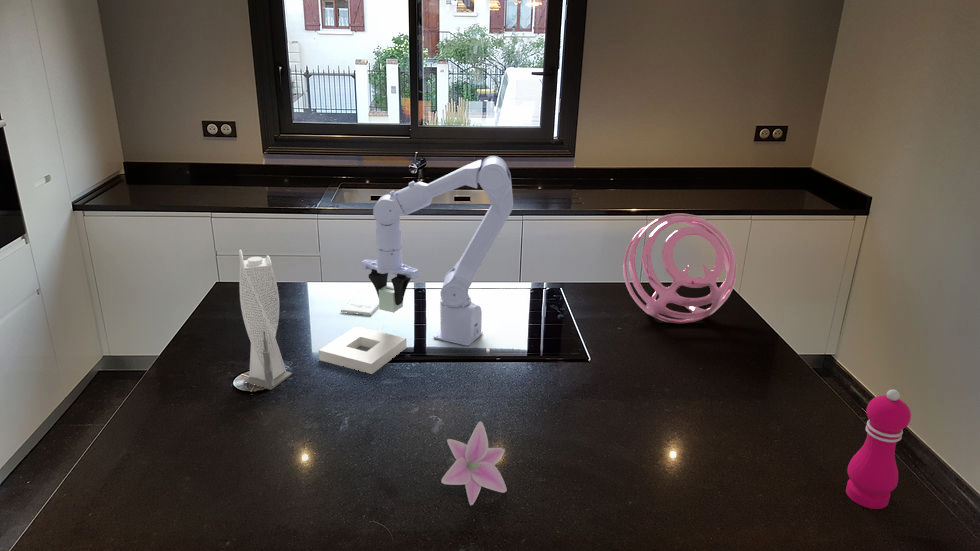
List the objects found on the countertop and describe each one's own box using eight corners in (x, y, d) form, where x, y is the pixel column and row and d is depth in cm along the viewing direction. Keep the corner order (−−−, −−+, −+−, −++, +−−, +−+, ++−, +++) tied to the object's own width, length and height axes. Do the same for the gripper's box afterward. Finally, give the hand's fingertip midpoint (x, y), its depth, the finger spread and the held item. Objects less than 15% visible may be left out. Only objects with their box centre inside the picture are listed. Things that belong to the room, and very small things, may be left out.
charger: (402, 306, 165) (402, 286, 163) (393, 312, 161) (393, 292, 160) (388, 303, 166) (388, 283, 165) (379, 309, 163) (378, 289, 161)
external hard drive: (387, 299, 188) (370, 318, 176) (358, 296, 189) (340, 314, 178) (387, 294, 187) (370, 312, 176) (358, 291, 188) (340, 309, 177)
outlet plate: (406, 347, 160) (406, 338, 159) (371, 374, 148) (371, 363, 147) (356, 335, 165) (356, 326, 164) (319, 360, 153) (318, 350, 152)
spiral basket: (627, 219, 193) (653, 184, 167) (723, 248, 192) (765, 218, 166) (602, 313, 187) (624, 293, 160) (701, 343, 186) (741, 328, 159)
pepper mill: (833, 483, 116) (858, 379, 109) (874, 481, 117) (901, 377, 109) (858, 512, 109) (886, 403, 102) (901, 510, 110) (932, 401, 103)
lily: (428, 512, 109) (450, 481, 103) (426, 447, 117) (446, 415, 112) (497, 519, 113) (522, 490, 107) (490, 456, 122) (512, 426, 116)
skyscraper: (238, 381, 144) (222, 254, 134) (263, 364, 151) (250, 243, 141) (271, 389, 141) (257, 261, 131) (295, 372, 148) (284, 248, 138)
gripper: (352, 247, 158) (355, 301, 163) (406, 257, 152) (408, 313, 157) (370, 239, 164) (372, 291, 169) (423, 248, 158) (424, 303, 163)
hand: (391, 301), depth 163 cm, fingers closed on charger, 4 cm apart
